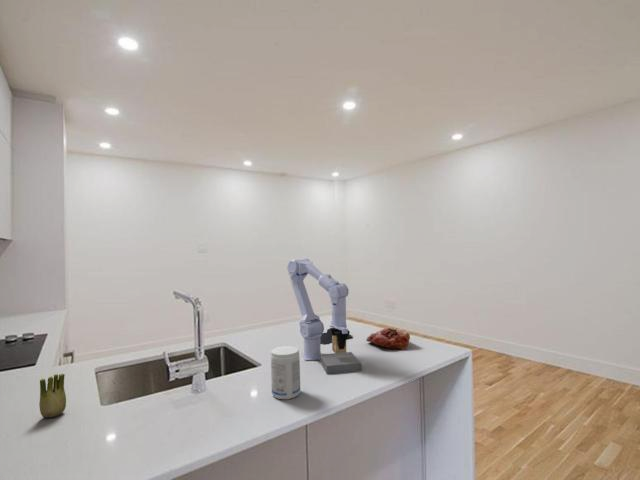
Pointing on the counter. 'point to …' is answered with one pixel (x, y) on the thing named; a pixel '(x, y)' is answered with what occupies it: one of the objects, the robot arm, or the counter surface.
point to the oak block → (335, 346)
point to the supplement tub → (285, 372)
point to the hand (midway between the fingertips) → (339, 347)
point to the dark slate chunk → (329, 337)
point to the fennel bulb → (52, 396)
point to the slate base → (339, 362)
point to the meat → (390, 338)
